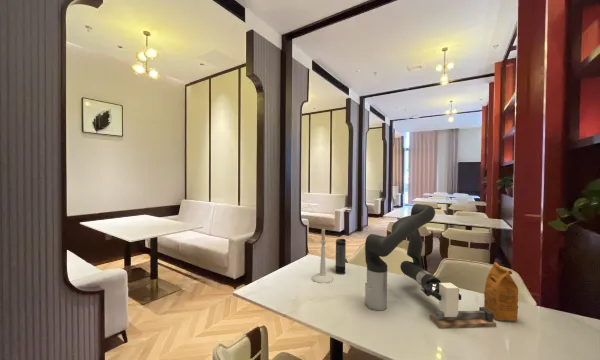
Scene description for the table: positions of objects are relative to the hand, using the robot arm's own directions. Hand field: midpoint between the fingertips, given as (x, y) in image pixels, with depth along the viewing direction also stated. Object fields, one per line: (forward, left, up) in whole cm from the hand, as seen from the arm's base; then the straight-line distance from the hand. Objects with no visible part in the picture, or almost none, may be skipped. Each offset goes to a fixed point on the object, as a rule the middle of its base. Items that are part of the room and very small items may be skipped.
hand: (450, 298), depth 103 cm
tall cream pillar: (0, +1, -8) cm, 8 cm away
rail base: (+6, +1, -11) cm, 13 cm away
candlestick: (-46, +47, -11) cm, 67 cm away
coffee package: (+27, +6, -11) cm, 30 cm away
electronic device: (-33, +58, -11) cm, 68 cm away
